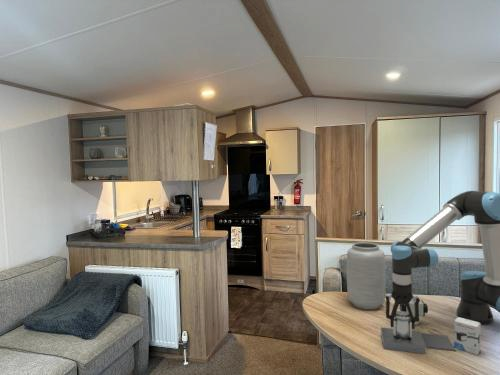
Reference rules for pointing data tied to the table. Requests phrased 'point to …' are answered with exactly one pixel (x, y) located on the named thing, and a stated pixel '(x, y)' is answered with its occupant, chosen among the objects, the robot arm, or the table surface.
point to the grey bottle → (402, 325)
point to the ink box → (467, 335)
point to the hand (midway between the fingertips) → (402, 335)
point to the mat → (437, 342)
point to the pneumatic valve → (422, 309)
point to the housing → (403, 342)
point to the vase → (366, 275)
